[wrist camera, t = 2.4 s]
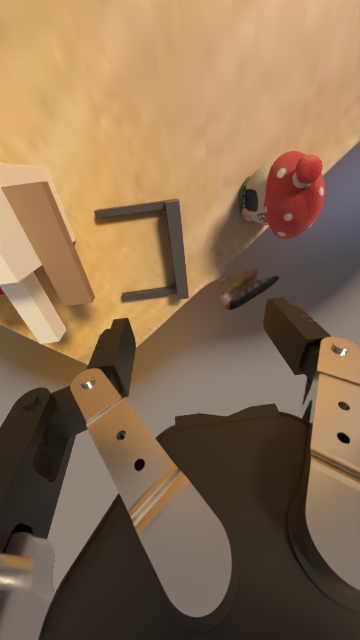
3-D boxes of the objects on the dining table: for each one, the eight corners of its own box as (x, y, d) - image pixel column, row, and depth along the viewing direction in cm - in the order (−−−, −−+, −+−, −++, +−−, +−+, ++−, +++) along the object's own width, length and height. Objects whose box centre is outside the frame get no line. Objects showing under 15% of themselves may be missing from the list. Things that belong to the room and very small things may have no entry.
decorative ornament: (240, 160, 30) (296, 148, 18) (284, 154, 30) (370, 138, 17) (237, 227, 35) (277, 254, 23) (274, 222, 35) (333, 247, 23)
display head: (-51, 180, 29) (-249, 183, 15) (74, 163, 28) (-8, 149, 15) (33, 309, 41) (-32, 375, 28) (119, 297, 41) (97, 358, 27)
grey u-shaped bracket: (124, 297, 41) (120, 307, 38) (96, 209, 32) (89, 213, 29) (186, 288, 41) (188, 298, 38) (177, 198, 32) (179, 201, 29)
